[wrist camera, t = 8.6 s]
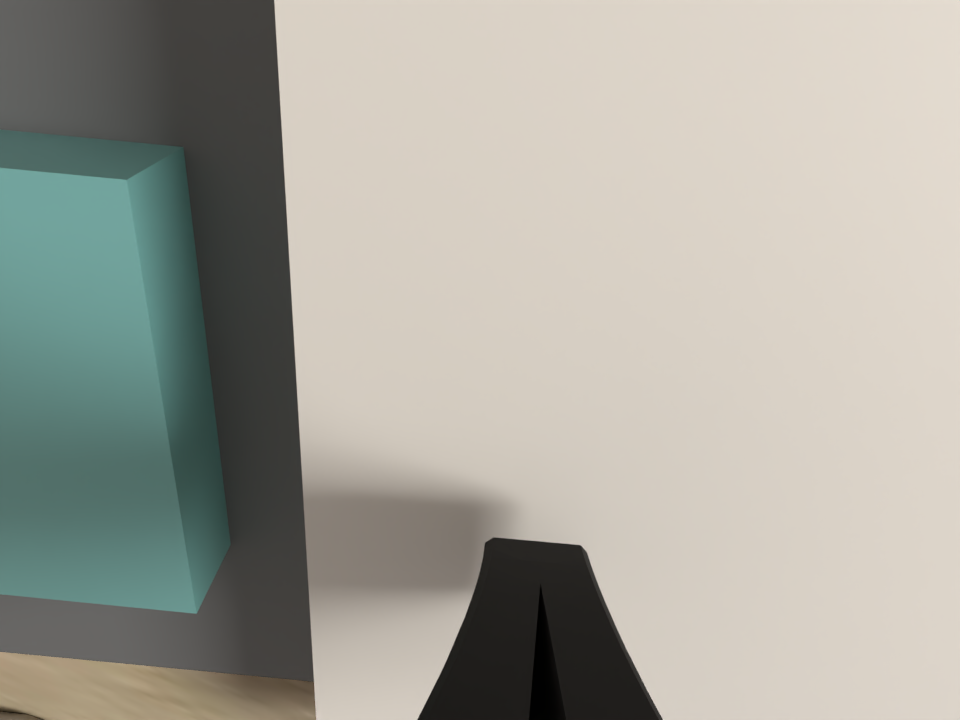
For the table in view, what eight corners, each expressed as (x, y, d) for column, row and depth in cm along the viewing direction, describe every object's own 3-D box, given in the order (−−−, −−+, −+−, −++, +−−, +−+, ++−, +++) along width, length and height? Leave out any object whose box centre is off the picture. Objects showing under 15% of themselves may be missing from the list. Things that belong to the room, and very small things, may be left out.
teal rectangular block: (-94, 584, 15) (-29, 518, 17) (196, 614, 15) (230, 544, 17) (-286, 140, 11) (-171, 113, 12) (126, 179, 10) (183, 147, 12)
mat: (321, 672, 19) (319, 682, 19) (-54, 636, 19) (-62, 645, 19) (280, -163, 10) (274, -165, 10) (-418, -222, 10) (-441, -226, 10)
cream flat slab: (878, 749, 20) (955, 922, 16) (360, 699, 20) (324, 861, 16) (1399, -160, 10) (1893, -220, 6) (349, -247, 10) (253, -355, 6)
